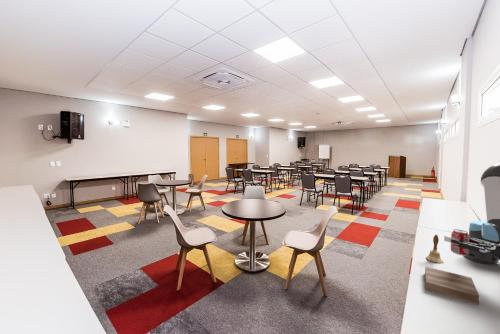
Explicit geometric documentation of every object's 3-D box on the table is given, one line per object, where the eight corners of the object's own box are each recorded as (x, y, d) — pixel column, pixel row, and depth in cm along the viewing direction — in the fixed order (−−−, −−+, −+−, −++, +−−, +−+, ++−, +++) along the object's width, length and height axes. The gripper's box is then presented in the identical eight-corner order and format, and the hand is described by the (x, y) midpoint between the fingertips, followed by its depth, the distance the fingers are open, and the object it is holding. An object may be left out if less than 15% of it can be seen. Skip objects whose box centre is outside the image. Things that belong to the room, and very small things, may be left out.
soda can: (468, 253, 119) (469, 230, 118) (469, 257, 113) (470, 234, 113) (450, 249, 123) (451, 228, 123) (450, 253, 118) (451, 231, 117)
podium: (425, 273, 122) (425, 266, 122) (470, 285, 111) (471, 277, 111) (426, 289, 108) (426, 281, 107) (478, 304, 97) (479, 296, 96)
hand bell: (443, 259, 138) (444, 234, 137) (443, 264, 131) (444, 238, 130) (425, 255, 143) (427, 231, 142) (425, 260, 137) (426, 235, 136)
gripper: (498, 266, 98) (437, 246, 119) (518, 258, 105) (458, 241, 127) (500, 250, 97) (438, 232, 118) (520, 243, 105) (458, 228, 126)
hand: (448, 237), depth 122 cm, fingers closed on soda can, 7 cm apart
